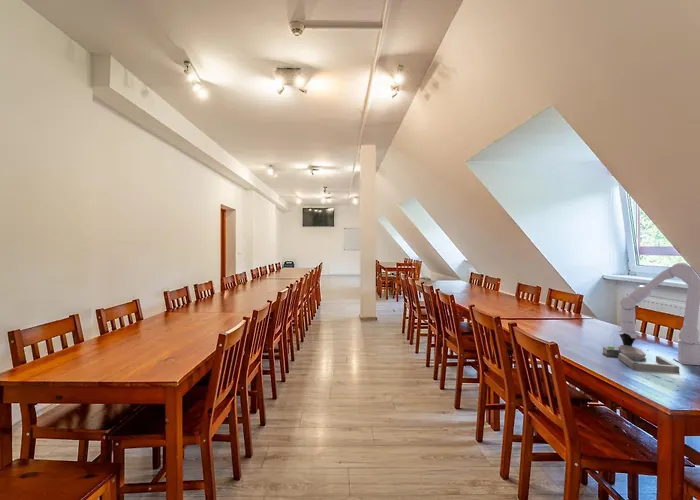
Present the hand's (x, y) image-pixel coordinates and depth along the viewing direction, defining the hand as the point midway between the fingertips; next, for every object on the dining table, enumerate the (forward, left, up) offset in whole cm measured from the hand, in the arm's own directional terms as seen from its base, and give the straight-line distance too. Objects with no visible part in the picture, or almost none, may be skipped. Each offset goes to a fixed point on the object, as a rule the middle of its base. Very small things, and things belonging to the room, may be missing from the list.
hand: (627, 349), depth 183 cm
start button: (+9, +6, -1) cm, 11 cm away
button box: (+9, +6, -1) cm, 11 cm away
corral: (0, +20, -1) cm, 20 cm away
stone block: (+1, +7, -2) cm, 7 cm away
